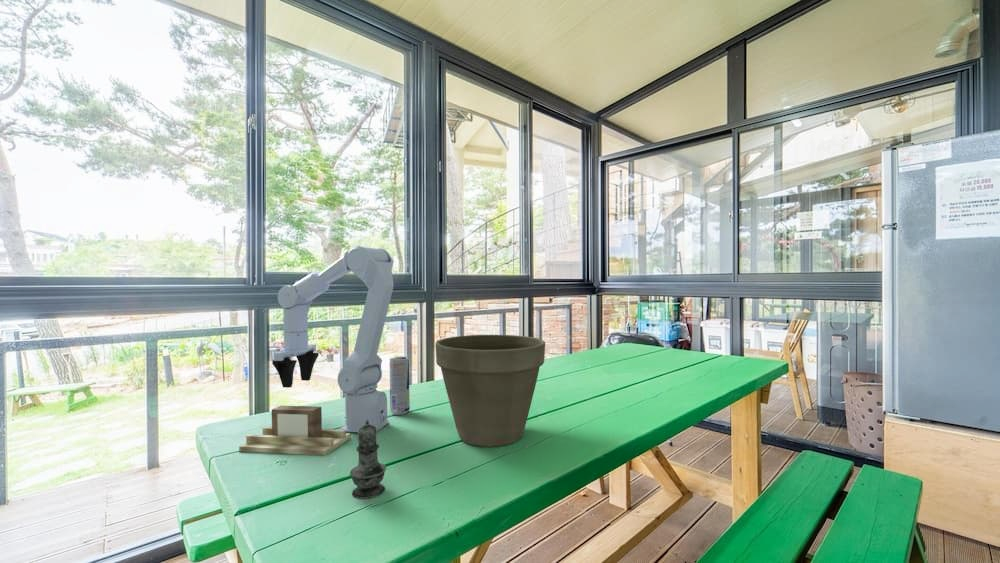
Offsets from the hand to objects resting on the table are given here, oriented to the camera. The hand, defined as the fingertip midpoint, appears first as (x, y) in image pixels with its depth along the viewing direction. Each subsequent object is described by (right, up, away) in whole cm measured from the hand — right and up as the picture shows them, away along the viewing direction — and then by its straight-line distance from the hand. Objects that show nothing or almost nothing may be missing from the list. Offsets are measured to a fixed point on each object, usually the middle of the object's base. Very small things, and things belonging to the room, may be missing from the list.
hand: (296, 383), depth 111 cm
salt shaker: (+31, -9, -40) cm, 51 cm away
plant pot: (+51, -9, -15) cm, 54 cm away
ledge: (+8, -9, -17) cm, 21 cm away
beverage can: (+26, -9, +4) cm, 28 cm away
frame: (+8, -8, -18) cm, 21 cm away
